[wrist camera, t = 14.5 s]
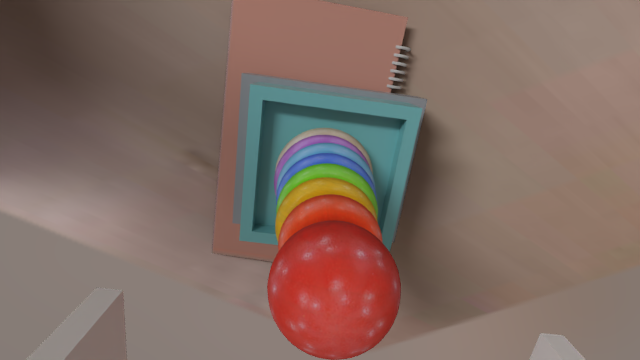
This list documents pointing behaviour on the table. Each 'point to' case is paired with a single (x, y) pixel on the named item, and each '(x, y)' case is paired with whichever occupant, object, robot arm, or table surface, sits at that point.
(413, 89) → the table surface
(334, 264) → the stacking toy
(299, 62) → the notebook
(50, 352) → the robot arm
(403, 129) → the brick base
